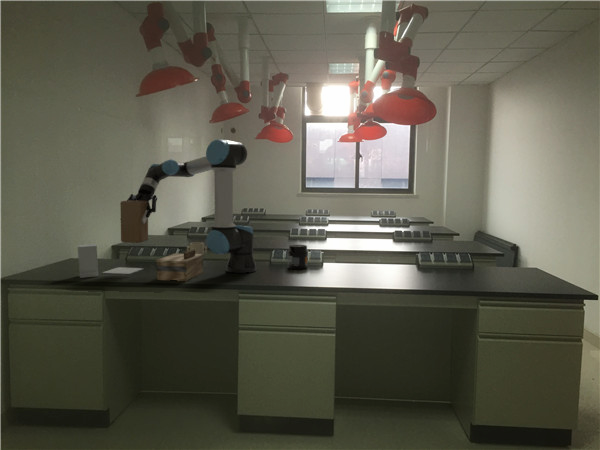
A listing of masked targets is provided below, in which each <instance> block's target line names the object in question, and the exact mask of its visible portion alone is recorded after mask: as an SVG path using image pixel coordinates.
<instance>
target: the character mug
mask: <svg viewBox="0 0 600 450" xmlns="http://www.w3.org/2000/svg"><path fill="white" fill-rule="evenodd" d="M190 250H195V254H203V255H204V254H207V253H208V246H205V244H204V242H195V241H193V242H190V243H189V245H187V246H186V252H187V251H190Z"/></svg>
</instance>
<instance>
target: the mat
mask: <svg viewBox="0 0 600 450" xmlns="http://www.w3.org/2000/svg"><path fill="white" fill-rule="evenodd" d="M142 270H144V268H141V267H120V266H119V267H115V268H112V269H109V270H106V271H102V274H109V275H111V274H113V275H115V274H116V275H131V274H135V273H137V272H139V271H142Z"/></svg>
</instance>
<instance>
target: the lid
mask: <svg viewBox="0 0 600 450" xmlns="http://www.w3.org/2000/svg"><path fill="white" fill-rule="evenodd" d="M201 257H202V258H203V257H204V254H195V250H190V249H189V251H187V250H186V251H185V252H183V253H177V252H176V253H172V254H169V255H167V256H164V257H161V258H157V259H156V260H155V263H157V262H161V263H186V264H187V263H189V262H191V261H194V260H196V259H199V258H201Z"/></svg>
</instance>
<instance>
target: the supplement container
mask: <svg viewBox="0 0 600 450" xmlns="http://www.w3.org/2000/svg"><path fill="white" fill-rule="evenodd" d="M308 254H309V252H308V245H305V244H290V245H289V246H288V252H287V267H288V269H289V270H294V271H295V270H299V271H300V270H306V269H308V266H309V265H308V262H309V261H308Z"/></svg>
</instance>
